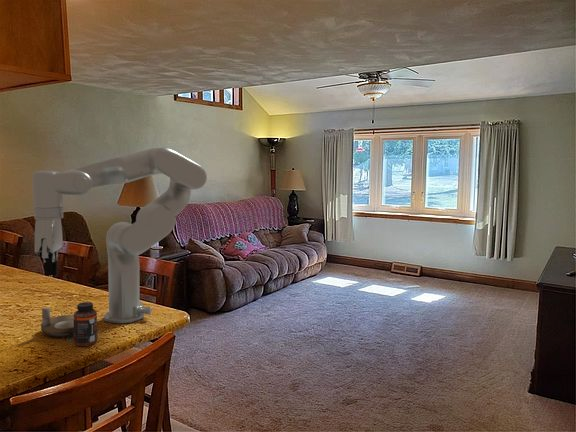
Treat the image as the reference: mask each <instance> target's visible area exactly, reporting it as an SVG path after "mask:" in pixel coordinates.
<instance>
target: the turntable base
mask: <svg viewBox="0 0 576 432" xmlns="http://www.w3.org/2000/svg"><path fill="white" fill-rule="evenodd" d="M46 334H47V333H46ZM47 336H48V337H51V338H57V339H58V338H66V339H67V342H69V343H70V342H73V337H74V333H68V334H47Z"/></svg>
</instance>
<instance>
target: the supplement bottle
mask: <svg viewBox="0 0 576 432" xmlns="http://www.w3.org/2000/svg"><path fill="white" fill-rule="evenodd" d="M76 309H77V310H76V311H75V312H74V313H73V315H74V336H73V342H74V343H73V344H74V345H75V346H76V347H88V346H92V345H94V344H95V343H97V341H98V316H97V312H98V311H96V310H95V308H94V303H93V302H91V301H84V302H81V303H78V304H77V305H76Z"/></svg>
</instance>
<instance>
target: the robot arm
mask: <svg viewBox="0 0 576 432" xmlns="http://www.w3.org/2000/svg"><path fill="white" fill-rule="evenodd" d="M159 174H163V175H164V176H167V177H168V178H169V185H168V188H167V190H166V191H165V192H163V193H162V194H161V195H159V196H158V197H157V198H155V199H154V200H152V201H151V202H150V203H148V204H146V205H144V206H143V207H141V209H139V210H138V212H137V214H136V217H135V222H133V223H131V222H127V221H120V222H115V223H114V224H112V225H111V226H110V227H109V229H107V232H106V236H105V243H106V244H105V245H106V250H107V251H106V252H107V263H108V265H107V266H108V267H107V269H108V275H107V276H108V278H107V279H108V312H105V313H104V314H103V320H104V322H108V323H110V324H129V323H134V322H137V321H140V320H142V319H143V318H144V317H145V315H151V314H152V308H151V306H144V305H143V301H140V256H139V255H142V254H143V253H145V252H146V251H148V250H149V249H151V248H152V247H154V246H155V245H156V244H157V243H159V242H160V241H161V240H163V239H164V238H165V237H167V236H168V235H169V234H170V233H171V232H172V231H173V229H174V228H175V226H176V221H177V219H176V216H177V215H179V214H180V213H181V212H182V211H183V210H184V209H186V207H187V205H188V204H189V201H190V198H191V193H192V190H195V191H196V190H199V189H201V188H203V187H204V186H205V184H206V183H207V179H208V178H207V172H206V170H205V168H203V166H201V164H198V163H196V162H195V161H193V160H191V159H189V158H188V157H186V156H184V155H183V154H181V153H179V152H177V151H176V150H174V149H171V148H168V147H154V148H150V149H149V148H148V149H145V150H144V149H143V150H140V151H136V152H133V153H130V154H126V155H125V154H124V155H120V156H117V157H113V158H110V159H106V160H102V161H100V162H99V161H98V162H95V163H91V164H87V165H84V166H79V167H76V168H75V167H74V168H71V169H68V170H65V171H61V172H60V171H58V170H57V171H56V170H37V171H34V172H33V174H32V196H33V217H34V220H35V223H34V224H35V225H34V252H35V254H40V253H41V258H42V259H43V264H44V265H43V266H44V276H57V275H58V274H59V263H58V262H59V261H58V260H59V259H58V258H59V250H60V249H61V248H62V247H63V241H64V240H63V228H62V219H63V218H64V202H63V201H64V199H63V198H64V197H63V196H75V197H81V196H85V195H87V194H88V193H90V191H91V190H92V189H94V188H98V187H103V186H109V185H110V186H112V185H122V184H127V183H131V182H134V181H137V180H141V179H144V178H147V177H151V176H155V175H159Z"/></svg>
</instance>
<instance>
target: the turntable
mask: <svg viewBox="0 0 576 432" xmlns="http://www.w3.org/2000/svg"><path fill="white" fill-rule="evenodd" d="M41 316H42V318H41V320H42V322H41V324H40V330H41V332H42V333H43V334H68V333H74V314H63V315H59V316H53V317H51V308H50V307H44V308H42V309H41Z"/></svg>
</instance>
